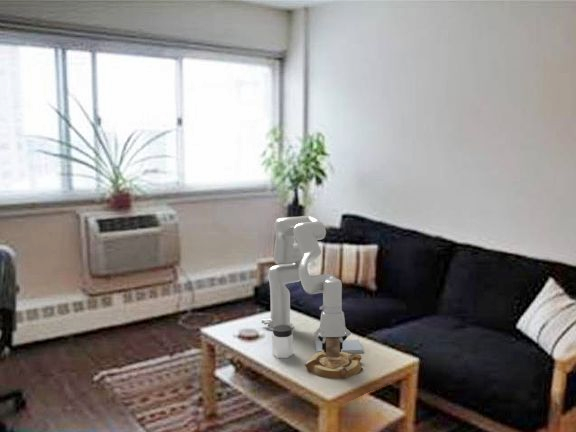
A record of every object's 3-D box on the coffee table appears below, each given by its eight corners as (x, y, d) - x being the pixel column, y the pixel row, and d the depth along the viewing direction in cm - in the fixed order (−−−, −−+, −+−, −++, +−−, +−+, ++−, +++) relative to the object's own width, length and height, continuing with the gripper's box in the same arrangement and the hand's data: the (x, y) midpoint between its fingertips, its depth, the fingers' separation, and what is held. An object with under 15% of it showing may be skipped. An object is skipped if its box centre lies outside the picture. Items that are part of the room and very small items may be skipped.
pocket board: (317, 354, 245) (317, 350, 245) (314, 343, 257) (314, 340, 256) (363, 353, 246) (363, 349, 245) (358, 342, 257) (358, 339, 257)
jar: (293, 350, 249) (292, 324, 247) (293, 358, 241) (292, 331, 239) (272, 350, 249) (272, 324, 247) (272, 358, 241) (271, 331, 239)
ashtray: (293, 365, 235) (293, 354, 234) (335, 351, 249) (335, 340, 248) (330, 386, 216) (330, 373, 215) (374, 369, 230) (374, 357, 229)
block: (326, 357, 230) (326, 338, 228) (324, 352, 235) (324, 333, 234) (339, 357, 230) (339, 338, 229) (338, 351, 235) (338, 333, 234)
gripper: (312, 312, 225) (312, 355, 228) (354, 311, 226) (354, 354, 229) (310, 306, 233) (310, 348, 236) (351, 305, 233) (351, 347, 236)
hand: (332, 350), depth 232 cm, fingers closed on block, 5 cm apart
